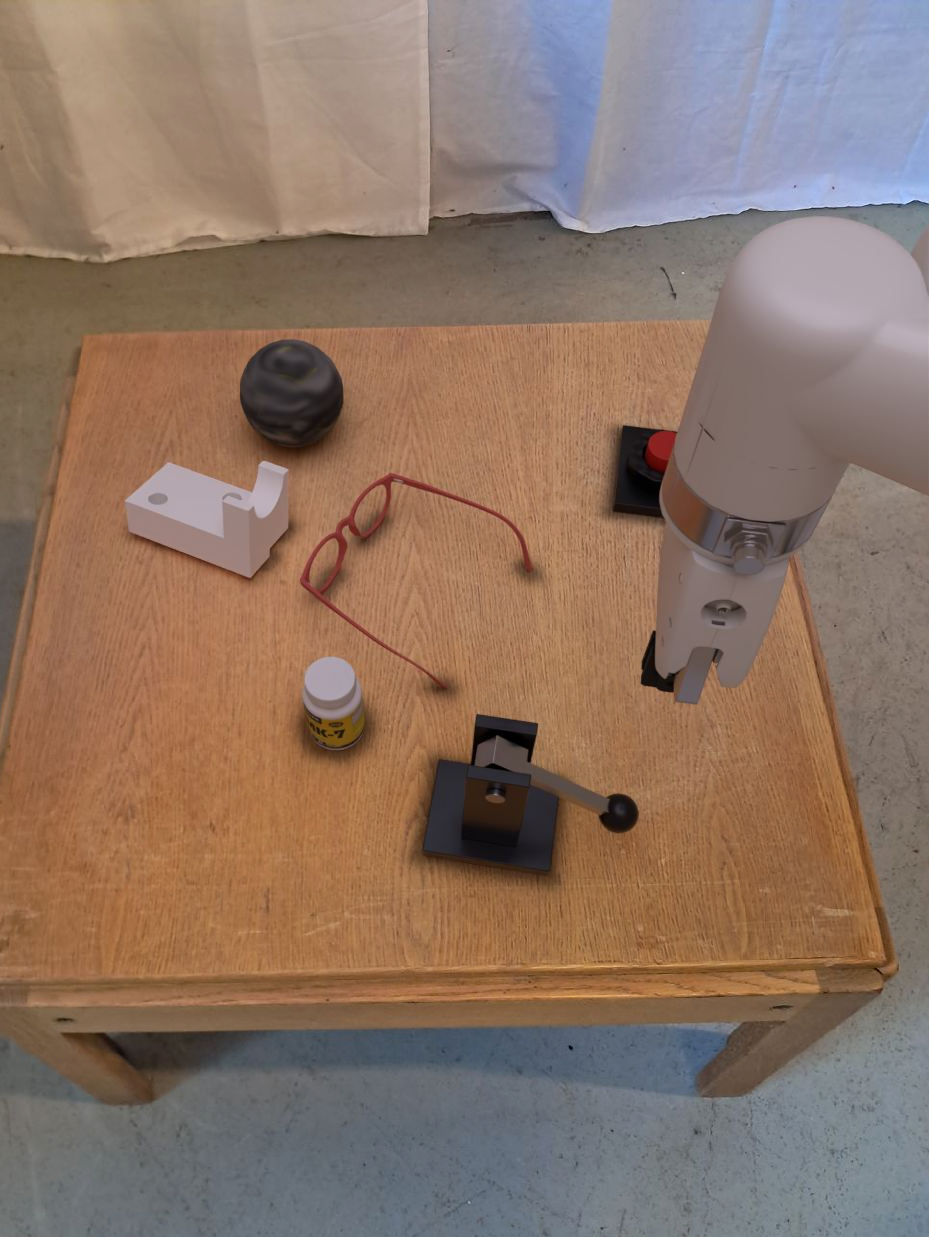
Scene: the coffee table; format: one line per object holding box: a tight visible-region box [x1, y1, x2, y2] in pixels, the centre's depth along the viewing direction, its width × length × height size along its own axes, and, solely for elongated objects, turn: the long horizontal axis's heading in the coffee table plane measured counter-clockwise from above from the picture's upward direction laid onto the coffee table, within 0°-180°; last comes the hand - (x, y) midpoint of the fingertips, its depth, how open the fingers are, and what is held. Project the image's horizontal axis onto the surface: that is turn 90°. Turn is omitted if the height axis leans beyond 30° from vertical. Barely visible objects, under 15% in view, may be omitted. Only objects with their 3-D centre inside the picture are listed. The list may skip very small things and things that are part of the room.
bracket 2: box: [421, 713, 560, 877], centre depth 76 cm, size 10×8×13 cm
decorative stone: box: [239, 338, 344, 448], centre depth 98 cm, size 10×10×10 cm
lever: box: [474, 735, 640, 834], centre depth 74 cm, size 14×3×3 cm
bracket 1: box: [124, 460, 290, 579], centre depth 93 cm, size 13×7×8 cm, turn 65°
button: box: [645, 430, 677, 472], centre depth 96 cm, size 4×4×2 cm
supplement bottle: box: [301, 656, 366, 751], centre depth 82 cm, size 5×5×8 cm
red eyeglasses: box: [299, 472, 533, 689], centre depth 90 cm, size 17×16×5 cm
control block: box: [612, 424, 678, 519], centre depth 97 cm, size 10×8×3 cm
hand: (665, 677), depth 64 cm, fingers closed
